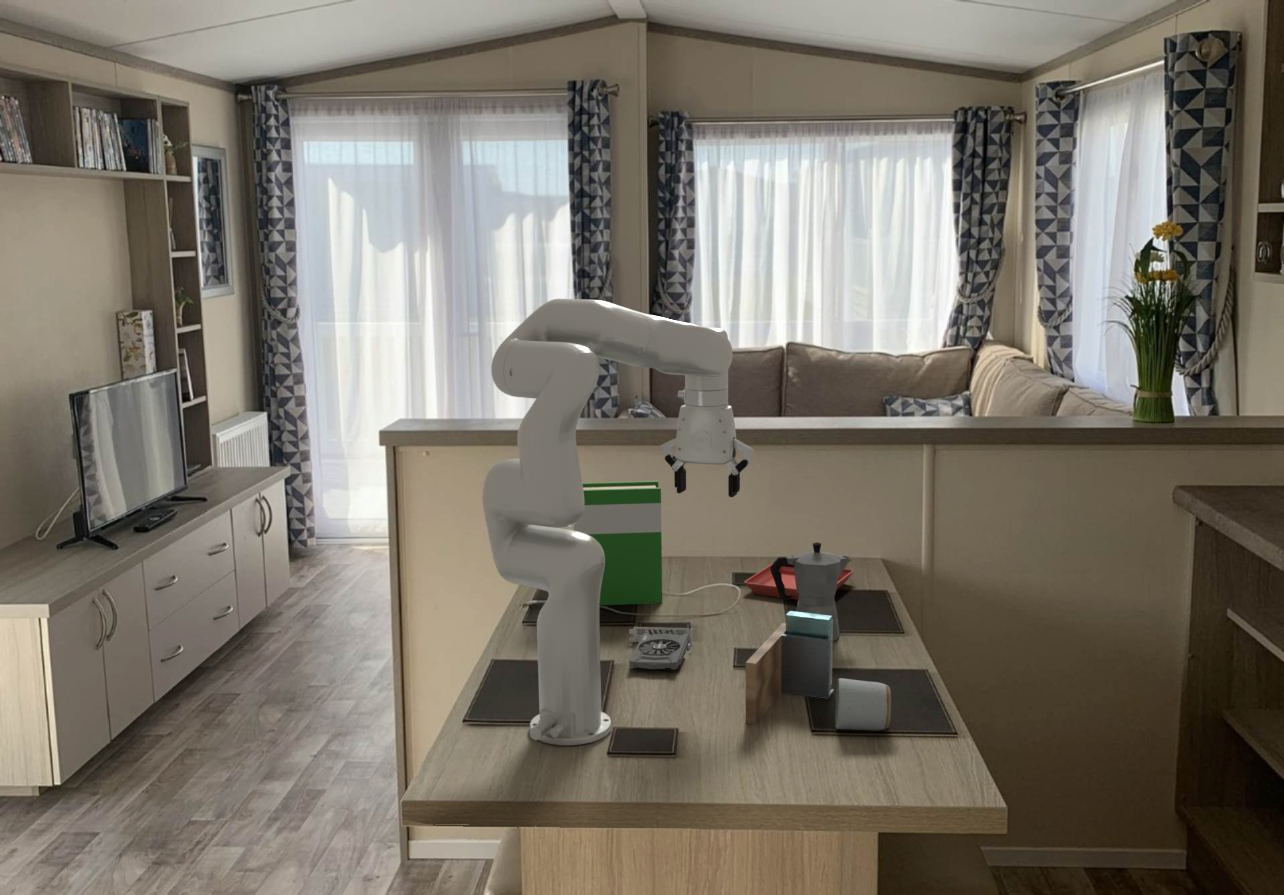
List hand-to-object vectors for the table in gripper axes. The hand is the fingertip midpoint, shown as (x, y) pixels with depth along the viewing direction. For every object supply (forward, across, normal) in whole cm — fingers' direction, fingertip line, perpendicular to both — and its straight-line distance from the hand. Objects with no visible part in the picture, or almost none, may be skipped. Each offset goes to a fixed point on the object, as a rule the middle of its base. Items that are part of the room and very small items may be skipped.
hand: (707, 493), depth 221 cm
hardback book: (+29, -27, +23) cm, 46 cm away
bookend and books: (+29, +22, -13) cm, 39 cm away
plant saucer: (+30, +7, +42) cm, 52 cm away
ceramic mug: (+29, +33, -24) cm, 50 cm away
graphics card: (+30, -8, -7) cm, 32 cm away
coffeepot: (+29, +16, +13) cm, 36 cm away
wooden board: (+29, +17, -20) cm, 39 cm away
